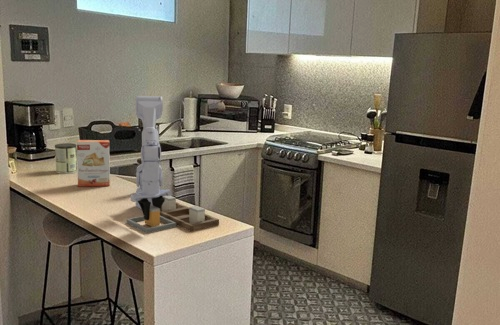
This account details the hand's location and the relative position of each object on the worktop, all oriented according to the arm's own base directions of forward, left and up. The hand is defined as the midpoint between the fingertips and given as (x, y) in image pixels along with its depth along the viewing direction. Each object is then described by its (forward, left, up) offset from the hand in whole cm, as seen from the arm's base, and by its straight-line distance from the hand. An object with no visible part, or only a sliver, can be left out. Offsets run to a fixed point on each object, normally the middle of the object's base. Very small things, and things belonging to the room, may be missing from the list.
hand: (151, 218), depth 166 cm
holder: (0, +13, -3) cm, 13 cm away
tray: (0, 0, -3) cm, 3 cm away
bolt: (-43, +22, -3) cm, 48 cm away
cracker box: (-67, +10, -3) cm, 68 cm away
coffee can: (-102, +11, -3) cm, 103 cm away
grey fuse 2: (+9, +13, -2) cm, 16 cm away
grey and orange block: (+1, 0, -2) cm, 2 cm away
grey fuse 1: (-9, +13, -2) cm, 16 cm away
